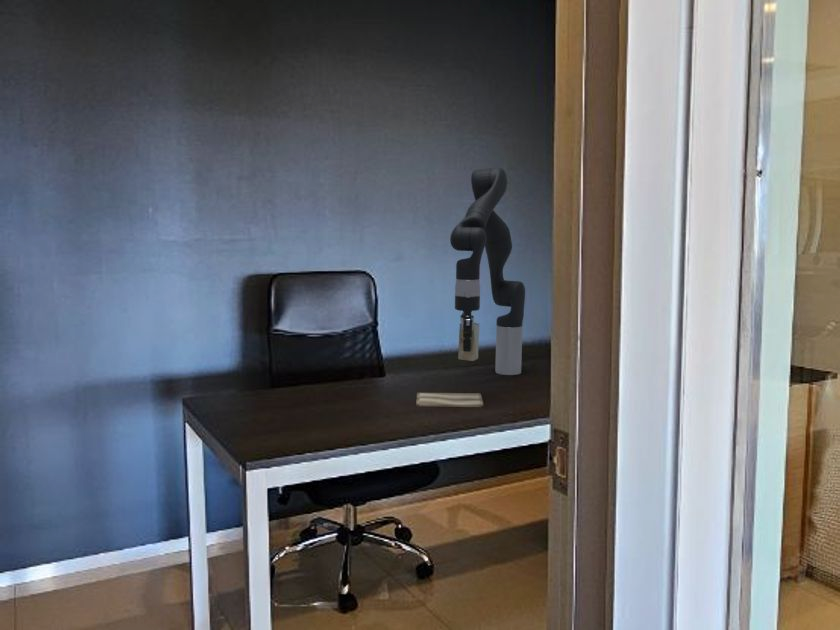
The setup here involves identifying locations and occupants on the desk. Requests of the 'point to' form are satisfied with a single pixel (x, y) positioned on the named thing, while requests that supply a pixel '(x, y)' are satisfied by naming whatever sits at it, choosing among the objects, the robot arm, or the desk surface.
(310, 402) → the desk surface
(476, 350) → the box
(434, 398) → the mat
